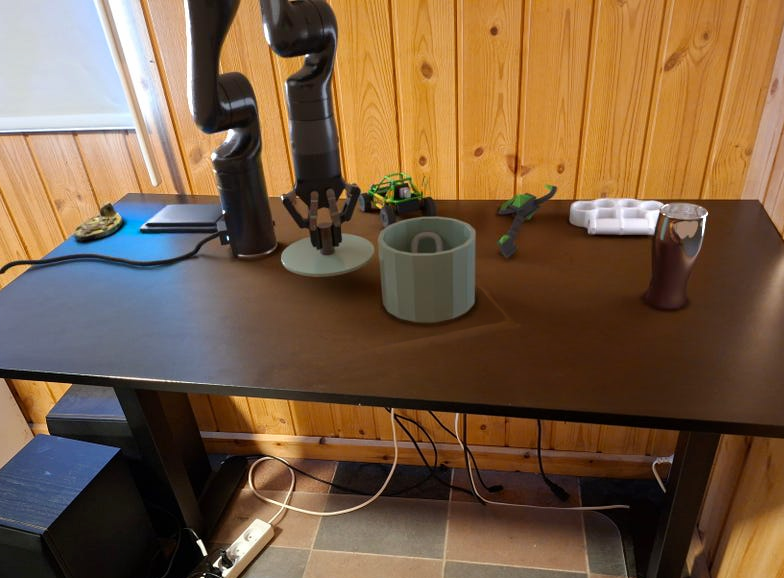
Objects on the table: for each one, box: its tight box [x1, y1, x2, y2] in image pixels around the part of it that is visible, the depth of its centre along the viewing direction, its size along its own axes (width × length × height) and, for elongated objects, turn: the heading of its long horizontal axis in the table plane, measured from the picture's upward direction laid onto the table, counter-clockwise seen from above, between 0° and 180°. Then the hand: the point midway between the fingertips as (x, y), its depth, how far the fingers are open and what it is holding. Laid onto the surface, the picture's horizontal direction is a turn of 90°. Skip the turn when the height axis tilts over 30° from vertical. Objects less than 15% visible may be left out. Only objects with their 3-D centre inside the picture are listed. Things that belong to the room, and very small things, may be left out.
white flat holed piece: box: [568, 197, 665, 236], centre depth 126 cm, size 3×18×15 cm
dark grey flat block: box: [139, 203, 224, 233], centre depth 146 cm, size 20×2×15 cm
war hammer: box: [496, 184, 558, 259], centre depth 127 cm, size 6×13×30 cm
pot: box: [377, 216, 476, 323], centre depth 103 cm, size 15×15×12 cm
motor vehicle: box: [358, 172, 438, 229], centre depth 136 cm, size 12×19×11 cm, turn 23°
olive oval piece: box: [74, 201, 124, 241], centre depth 144 cm, size 9×5×15 cm
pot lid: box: [280, 221, 375, 278], centre depth 109 cm, size 16×16×6 cm
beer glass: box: [644, 202, 709, 311], centre depth 97 cm, size 7×7×15 cm
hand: (326, 246), depth 109 cm, fingers closed on pot lid, 2 cm apart
